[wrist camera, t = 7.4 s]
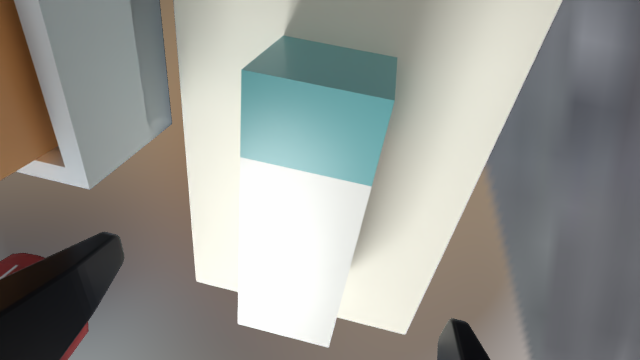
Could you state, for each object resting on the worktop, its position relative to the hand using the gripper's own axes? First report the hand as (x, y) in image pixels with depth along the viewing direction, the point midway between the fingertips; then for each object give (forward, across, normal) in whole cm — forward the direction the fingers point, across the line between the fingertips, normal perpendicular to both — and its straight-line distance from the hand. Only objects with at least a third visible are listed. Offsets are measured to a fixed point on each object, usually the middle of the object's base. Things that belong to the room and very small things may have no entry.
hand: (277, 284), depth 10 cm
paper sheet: (+5, 0, 0) cm, 5 cm away
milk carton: (+5, 0, 0) cm, 5 cm away
